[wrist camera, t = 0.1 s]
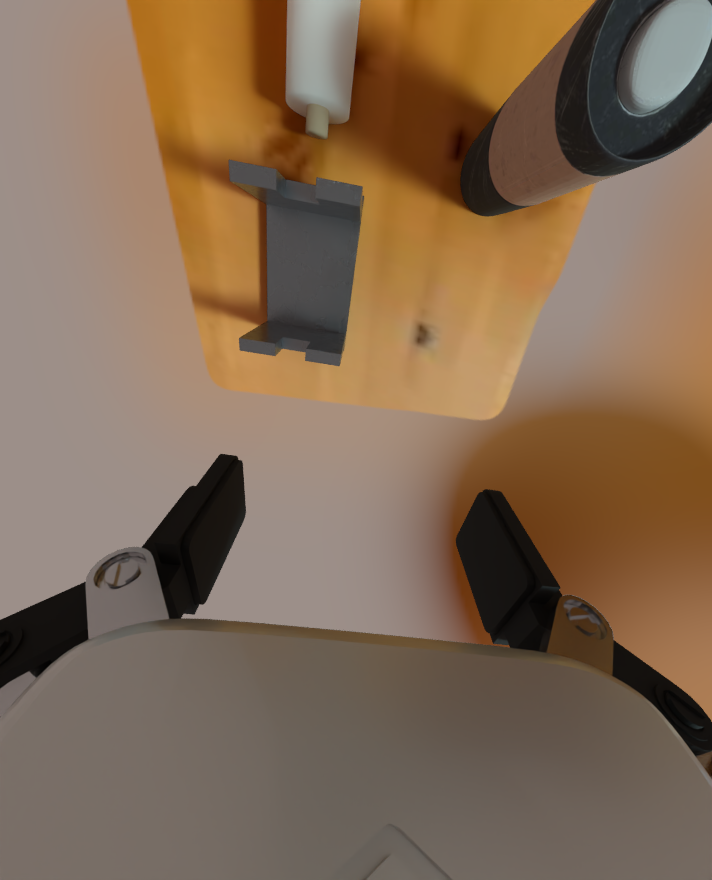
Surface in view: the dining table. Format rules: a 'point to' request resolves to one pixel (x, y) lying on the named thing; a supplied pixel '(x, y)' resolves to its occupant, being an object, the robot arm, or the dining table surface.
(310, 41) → the paper roll
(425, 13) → the dining table surface
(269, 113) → the dining table surface
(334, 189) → the roll holder
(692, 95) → the travel mug
